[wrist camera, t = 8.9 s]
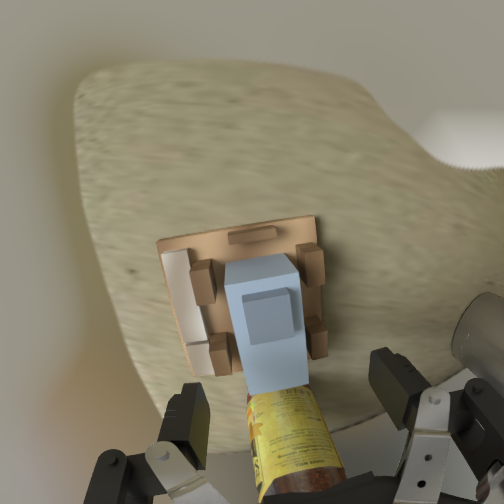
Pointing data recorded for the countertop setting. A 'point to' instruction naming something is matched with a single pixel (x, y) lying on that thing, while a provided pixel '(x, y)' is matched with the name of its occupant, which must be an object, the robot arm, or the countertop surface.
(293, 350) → the light blue block
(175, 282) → the jig
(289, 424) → the sauce bottle
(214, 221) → the countertop surface
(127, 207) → the countertop surface
